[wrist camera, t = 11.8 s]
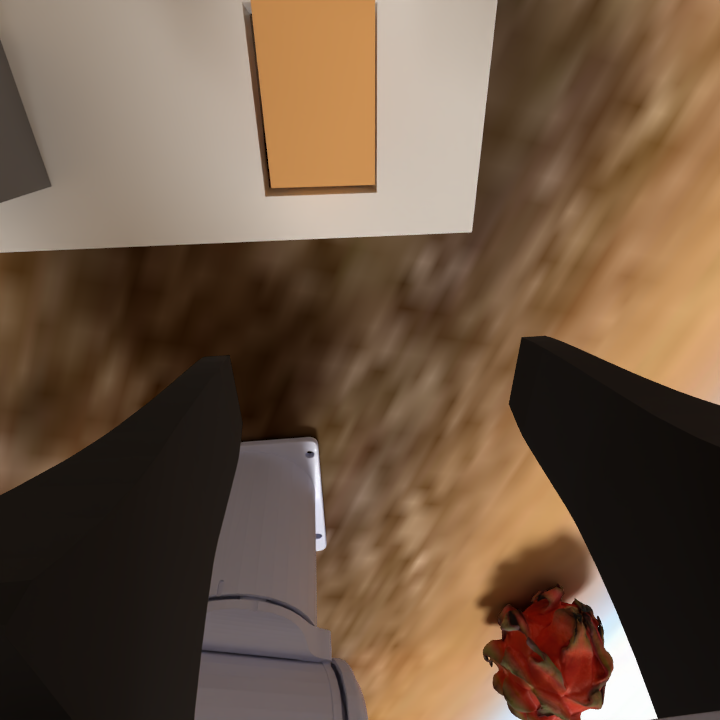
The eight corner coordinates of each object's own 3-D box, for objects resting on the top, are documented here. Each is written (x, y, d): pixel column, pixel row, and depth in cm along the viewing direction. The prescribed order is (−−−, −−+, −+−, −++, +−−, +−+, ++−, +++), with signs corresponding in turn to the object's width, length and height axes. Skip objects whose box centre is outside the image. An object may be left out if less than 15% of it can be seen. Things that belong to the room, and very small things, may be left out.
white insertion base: (457, 220, 20) (510, 262, 14) (-70, 242, 18) (-224, 298, 13) (482, -49, 15) (572, -128, 10) (-222, -54, 13) (-557, -152, 8)
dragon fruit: (482, 632, 41) (529, 531, 37) (578, 691, 37) (640, 587, 33) (457, 715, 33) (512, 600, 29) (574, 797, 30) (654, 680, 26)
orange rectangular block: (356, 161, 18) (374, 184, 13) (282, 163, 18) (271, 188, 13) (353, 24, 16) (374, -15, 11) (269, 25, 16) (248, -15, 10)
